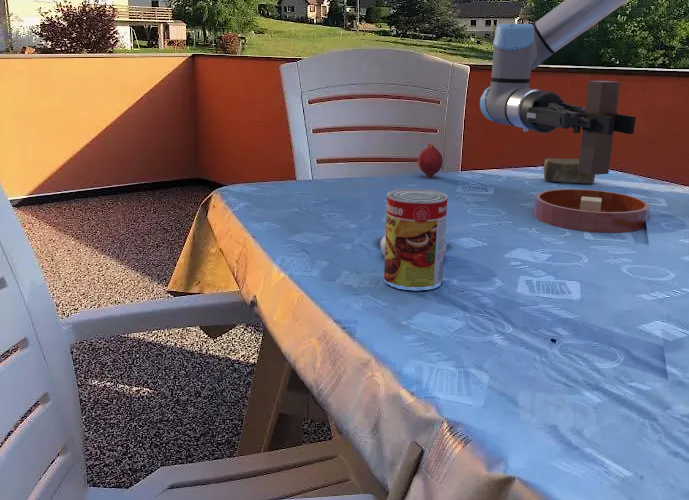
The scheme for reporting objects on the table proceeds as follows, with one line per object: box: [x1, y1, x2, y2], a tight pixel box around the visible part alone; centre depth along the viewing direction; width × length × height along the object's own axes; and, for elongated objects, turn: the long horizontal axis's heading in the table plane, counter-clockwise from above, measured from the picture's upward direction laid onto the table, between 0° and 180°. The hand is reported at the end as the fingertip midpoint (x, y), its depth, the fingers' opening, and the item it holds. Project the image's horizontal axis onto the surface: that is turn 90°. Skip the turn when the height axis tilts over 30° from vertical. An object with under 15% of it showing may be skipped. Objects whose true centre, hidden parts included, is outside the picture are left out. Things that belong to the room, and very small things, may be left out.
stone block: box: [543, 157, 596, 185], centre depth 165 cm, size 6×12×5 cm, turn 80°
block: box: [580, 196, 602, 212], centre depth 129 cm, size 4×4×4 cm
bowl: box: [533, 188, 651, 234], centre depth 129 cm, size 20×20×4 cm
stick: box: [578, 80, 621, 176], centre depth 117 cm, size 4×4×15 cm
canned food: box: [383, 188, 448, 287], centre depth 94 cm, size 8×8×12 cm
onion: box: [417, 142, 444, 178], centre depth 167 cm, size 6×6×8 cm
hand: (621, 125), depth 112 cm, fingers closed on stick, 3 cm apart
